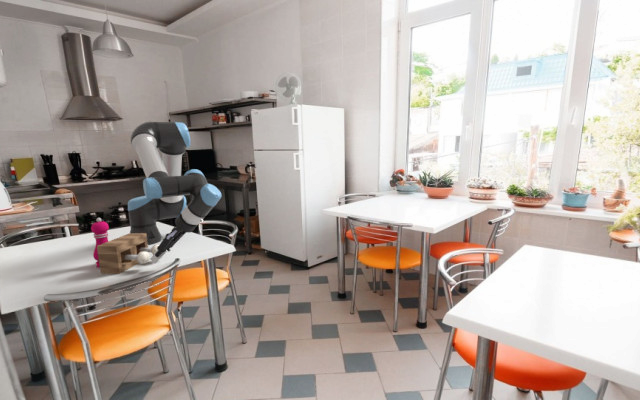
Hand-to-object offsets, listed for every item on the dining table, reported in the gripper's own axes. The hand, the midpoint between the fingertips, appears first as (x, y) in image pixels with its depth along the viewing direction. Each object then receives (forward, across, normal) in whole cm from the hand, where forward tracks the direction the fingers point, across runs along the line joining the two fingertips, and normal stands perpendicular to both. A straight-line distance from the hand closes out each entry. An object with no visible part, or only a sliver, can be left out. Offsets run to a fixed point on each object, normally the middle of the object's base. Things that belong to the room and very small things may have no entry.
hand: (153, 260), depth 127 cm
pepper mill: (+20, +5, +15) cm, 26 cm away
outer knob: (+6, 0, +4) cm, 7 cm away
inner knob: (+6, +9, +4) cm, 12 cm away
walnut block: (+14, +5, +8) cm, 17 cm away
